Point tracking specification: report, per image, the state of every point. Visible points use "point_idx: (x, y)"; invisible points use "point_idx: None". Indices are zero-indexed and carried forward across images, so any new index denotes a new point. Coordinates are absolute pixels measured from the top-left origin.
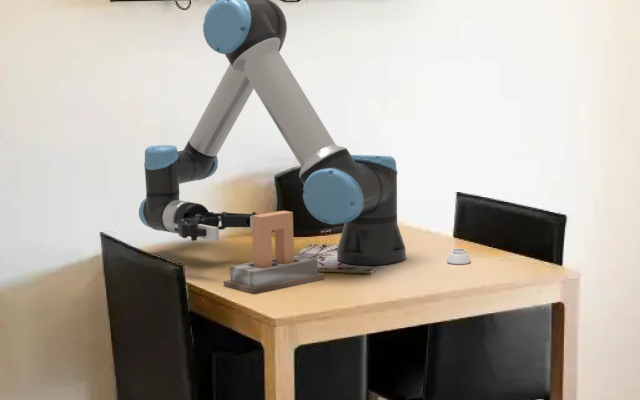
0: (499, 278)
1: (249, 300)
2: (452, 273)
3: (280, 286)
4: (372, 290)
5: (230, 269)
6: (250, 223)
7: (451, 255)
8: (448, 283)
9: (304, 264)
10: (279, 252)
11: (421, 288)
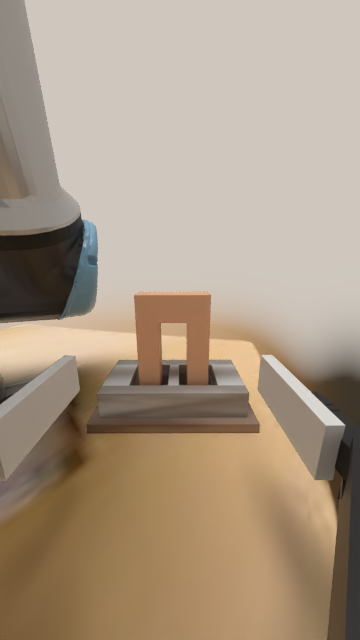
0: (55, 331)
1: (250, 370)
2: (42, 345)
3: None
4: (136, 346)
5: (248, 398)
6: (2, 456)
7: None
8: (85, 336)
9: None
10: (160, 361)
11: (110, 338)
